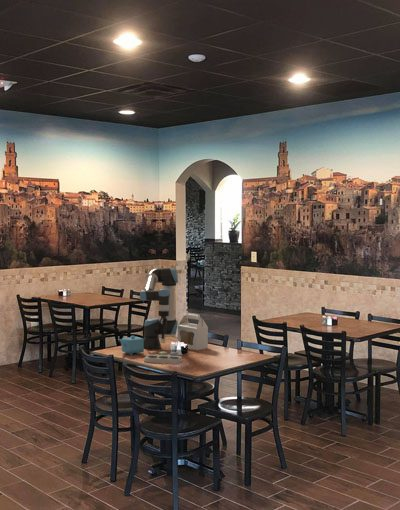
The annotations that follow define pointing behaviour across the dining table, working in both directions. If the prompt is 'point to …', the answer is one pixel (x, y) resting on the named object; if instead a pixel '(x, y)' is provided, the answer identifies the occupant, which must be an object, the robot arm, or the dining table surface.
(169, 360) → the button board
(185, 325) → the gable box
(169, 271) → the robot arm
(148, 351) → the terracotta button
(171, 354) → the slate blue button
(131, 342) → the teapot
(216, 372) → the dining table surface
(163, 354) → the sage green button
